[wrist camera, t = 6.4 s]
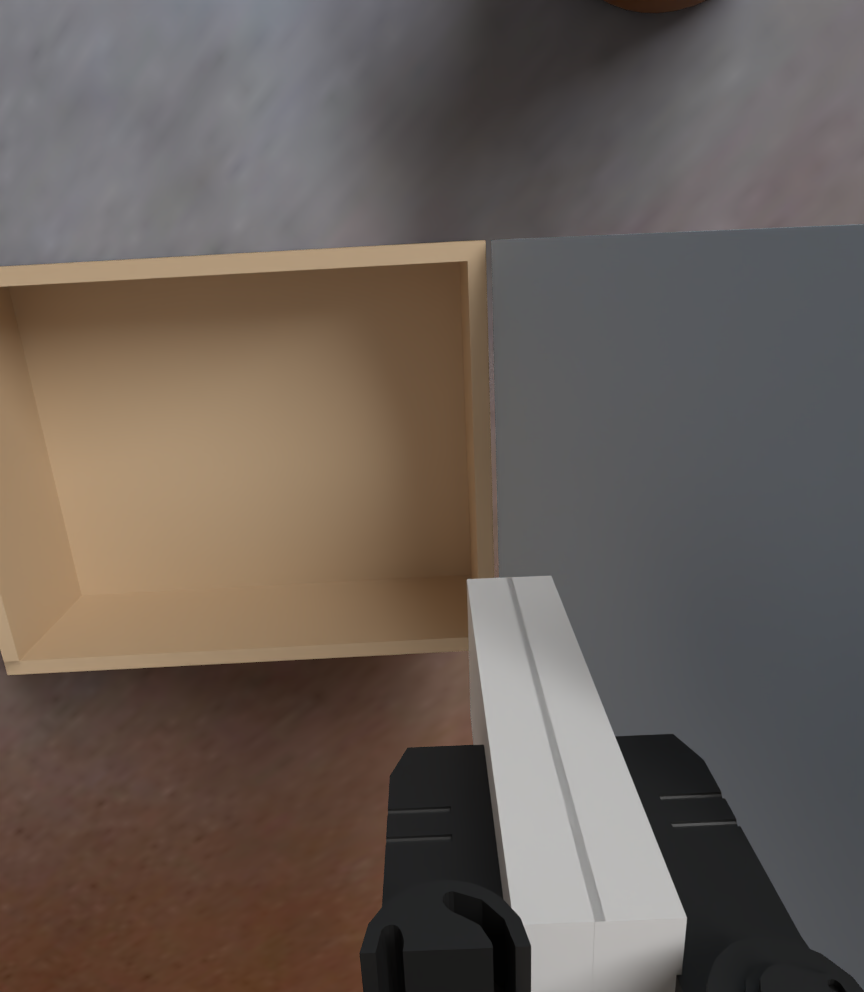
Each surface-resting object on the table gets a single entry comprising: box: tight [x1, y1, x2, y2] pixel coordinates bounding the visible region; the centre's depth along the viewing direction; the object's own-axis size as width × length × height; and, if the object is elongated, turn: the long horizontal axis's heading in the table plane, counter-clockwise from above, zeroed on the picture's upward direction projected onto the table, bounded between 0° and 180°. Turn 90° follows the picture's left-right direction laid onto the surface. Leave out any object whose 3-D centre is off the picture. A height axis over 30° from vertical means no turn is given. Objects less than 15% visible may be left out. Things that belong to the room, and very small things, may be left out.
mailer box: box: [0, 240, 494, 675], centre depth 24 cm, size 16×13×5 cm
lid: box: [491, 224, 864, 990], centre depth 14 cm, size 17×13×2 cm
